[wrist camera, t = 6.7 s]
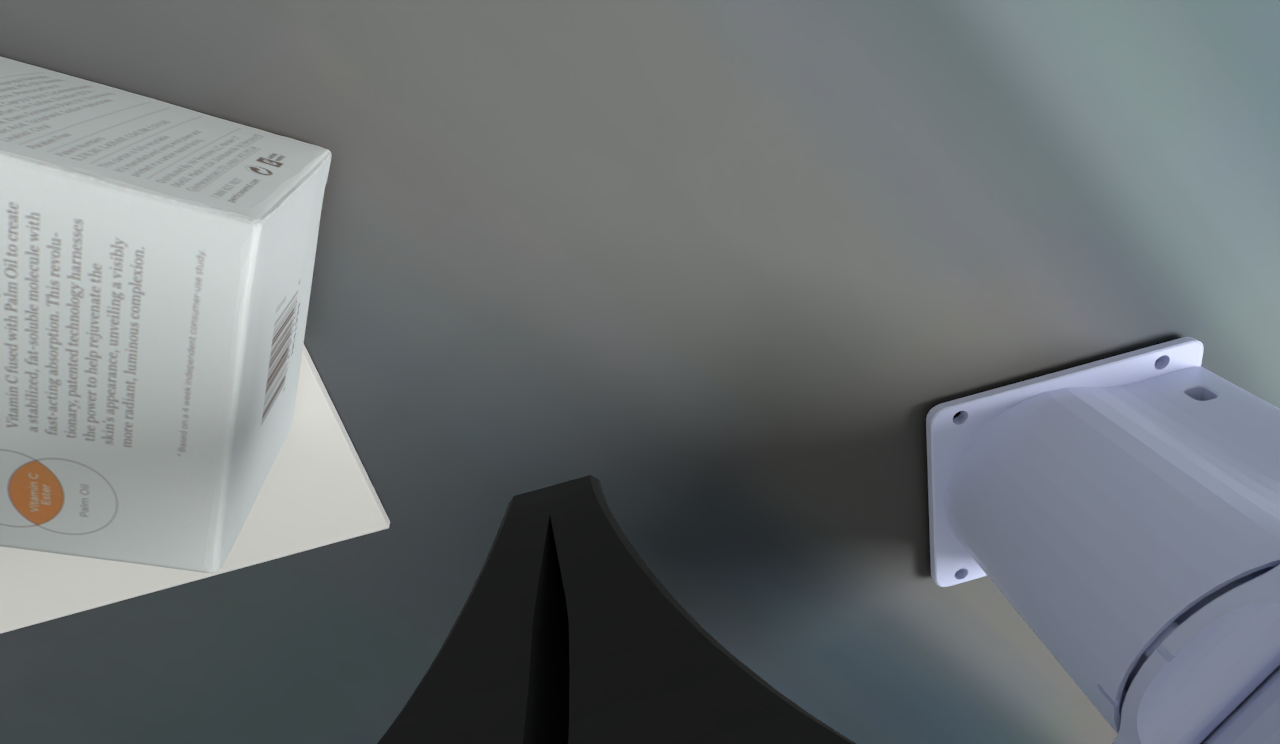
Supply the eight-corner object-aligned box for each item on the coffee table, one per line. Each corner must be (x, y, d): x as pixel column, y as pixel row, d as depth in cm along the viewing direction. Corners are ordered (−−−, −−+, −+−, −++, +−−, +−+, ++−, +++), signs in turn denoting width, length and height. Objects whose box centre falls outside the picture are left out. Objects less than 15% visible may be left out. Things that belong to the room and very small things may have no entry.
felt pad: (203, 136, 18) (198, 138, 17) (390, 521, 23) (388, 528, 23) (-356, 275, 17) (-369, 279, 17) (-25, 634, 23) (-31, 642, 22)
